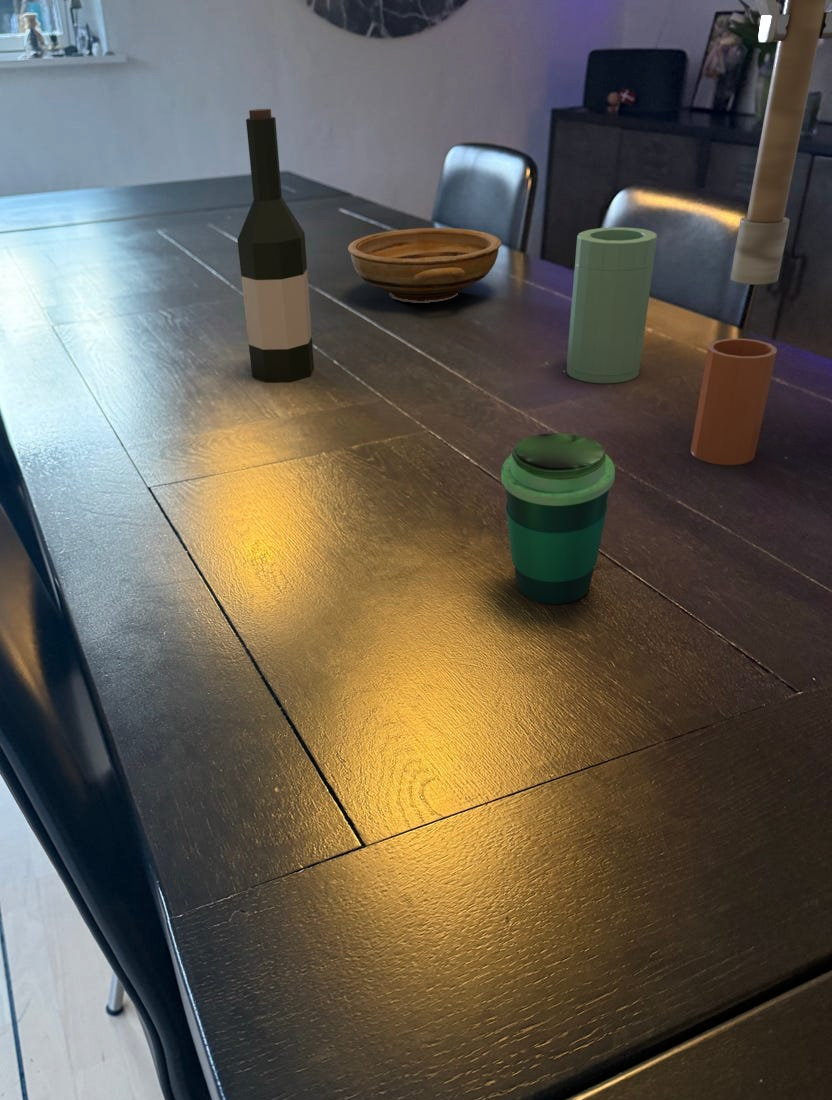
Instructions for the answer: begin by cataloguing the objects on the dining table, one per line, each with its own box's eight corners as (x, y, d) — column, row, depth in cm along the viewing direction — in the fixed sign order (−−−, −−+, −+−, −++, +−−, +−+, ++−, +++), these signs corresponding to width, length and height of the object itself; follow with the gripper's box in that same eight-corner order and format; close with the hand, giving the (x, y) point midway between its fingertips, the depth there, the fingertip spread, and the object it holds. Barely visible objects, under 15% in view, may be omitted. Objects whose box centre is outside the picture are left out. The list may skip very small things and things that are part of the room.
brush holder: (738, 444, 95) (760, 336, 89) (764, 468, 90) (788, 355, 84) (681, 448, 95) (698, 340, 89) (703, 472, 90) (723, 360, 84)
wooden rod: (766, 272, 85) (822, -21, 73) (785, 283, 82) (847, -22, 70) (723, 275, 85) (772, -18, 73) (741, 286, 82) (795, -19, 69)
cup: (619, 587, 73) (639, 443, 66) (565, 632, 68) (580, 482, 62) (532, 557, 78) (541, 420, 71) (475, 597, 73) (480, 454, 66)
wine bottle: (258, 386, 117) (230, 115, 100) (246, 367, 124) (217, 110, 107) (322, 377, 119) (304, 109, 102) (306, 359, 126) (287, 104, 109)
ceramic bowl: (523, 312, 140) (526, 256, 135) (364, 325, 138) (362, 269, 133) (474, 268, 164) (475, 220, 160) (339, 280, 162) (336, 231, 158)
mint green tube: (626, 358, 120) (642, 225, 111) (648, 381, 112) (667, 240, 103) (558, 363, 119) (569, 229, 110) (576, 385, 112) (589, 244, 103)
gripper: (957, -192, 68) (904, 31, 76) (684, -177, 68) (658, 46, 76) (1013, -209, 63) (950, 32, 71) (717, -193, 63) (686, 49, 70)
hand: (797, 40), depth 73 cm, fingers closed on wooden rod, 3 cm apart
